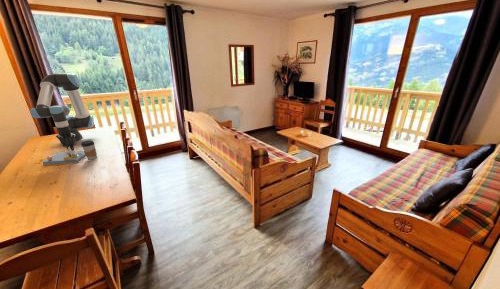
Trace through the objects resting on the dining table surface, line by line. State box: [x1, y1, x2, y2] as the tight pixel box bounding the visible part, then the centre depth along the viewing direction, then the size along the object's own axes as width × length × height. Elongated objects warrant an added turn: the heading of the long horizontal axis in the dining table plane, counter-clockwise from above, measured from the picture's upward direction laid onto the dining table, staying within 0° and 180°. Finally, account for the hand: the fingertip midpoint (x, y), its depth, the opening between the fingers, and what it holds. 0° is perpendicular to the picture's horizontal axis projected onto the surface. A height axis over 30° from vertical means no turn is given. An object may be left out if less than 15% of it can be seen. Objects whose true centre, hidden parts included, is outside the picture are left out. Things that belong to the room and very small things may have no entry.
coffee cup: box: [80, 139, 98, 162], centre depth 166 cm, size 8×8×15 cm
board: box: [42, 150, 87, 166], centre depth 169 cm, size 17×24×2 cm
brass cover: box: [63, 154, 78, 161], centre depth 162 cm, size 6×6×4 cm
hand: (72, 154), depth 169 cm, fingers closed
